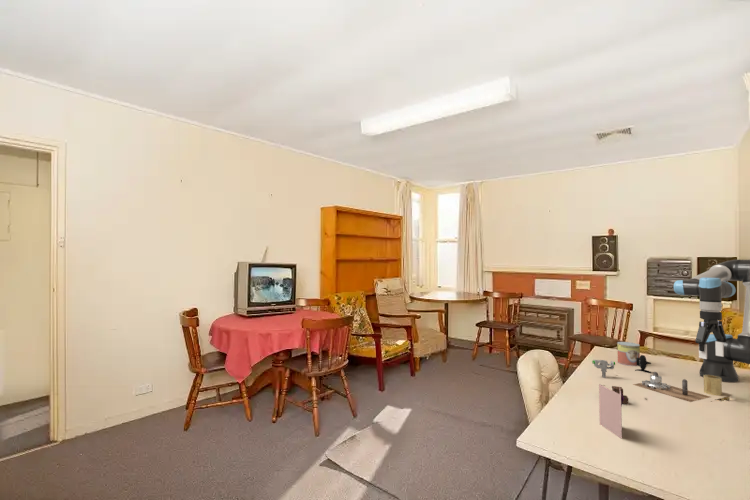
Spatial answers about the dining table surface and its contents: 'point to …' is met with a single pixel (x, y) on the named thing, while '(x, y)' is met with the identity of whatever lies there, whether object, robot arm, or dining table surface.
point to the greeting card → (610, 410)
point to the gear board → (678, 391)
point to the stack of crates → (617, 390)
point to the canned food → (628, 353)
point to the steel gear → (656, 383)
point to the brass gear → (713, 386)
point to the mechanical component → (603, 366)
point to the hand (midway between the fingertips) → (711, 357)
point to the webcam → (642, 363)
